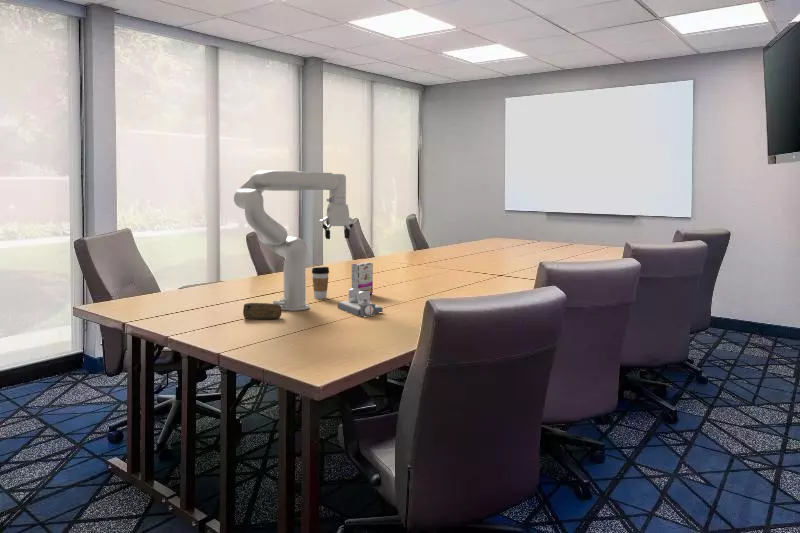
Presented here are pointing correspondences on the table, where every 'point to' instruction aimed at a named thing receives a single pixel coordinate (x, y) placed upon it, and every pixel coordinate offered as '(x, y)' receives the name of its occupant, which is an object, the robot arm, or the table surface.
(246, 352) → the table surface
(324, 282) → the coffee cup
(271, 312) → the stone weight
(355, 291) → the cylinder
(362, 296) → the cylinder
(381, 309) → the scale
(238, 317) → the table surface
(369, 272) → the candy bar box
